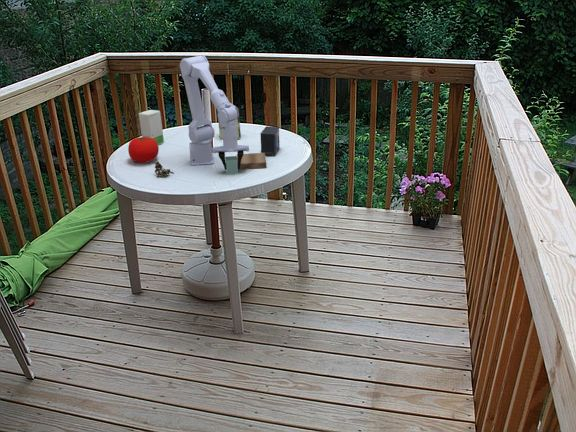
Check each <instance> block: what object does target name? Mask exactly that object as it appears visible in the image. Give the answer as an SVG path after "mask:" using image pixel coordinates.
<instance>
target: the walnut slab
mask: <svg viewBox="0 0 576 432" xmlns="http://www.w3.org/2000/svg"><path fill="white" fill-rule="evenodd" d="M236 156H237V165H238V154H237V153H236ZM266 159H267V157H266V156H265V153H261V152H255V153H244V154H243V157H242V160H241V163H240V169H238V171H239V170H241V171H242V170H255V169H267V160H266Z"/></svg>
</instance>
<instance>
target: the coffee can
mask: <svg viewBox="0 0 576 432" xmlns="http://www.w3.org/2000/svg"><path fill="white" fill-rule="evenodd" d="M237 110H238V113H239V114H240V108H239V107H237ZM216 112H217V113H218V111H217V110H216ZM217 121H218V132H219V140H220V139H221V140H220V141H222V140H223V135H222V126H221V125H220V121H219V119H218V118H217ZM236 129H237V141H239V140H240V139H241V138H242V136H241V135H242V133H241V121H240V115H239V116H238V118H237V119H236Z"/></svg>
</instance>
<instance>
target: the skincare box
mask: <svg viewBox="0 0 576 432" xmlns="http://www.w3.org/2000/svg"><path fill="white" fill-rule="evenodd" d="M161 115H162V114H161V111H160V110H156V109H155V110H154V109H148V110H145V111H142V112H139V113H138V119H139V125H140V133H141V137H149V138H153V139H155V140H156V142H157V144H158V146H160V145H162V144H164V143H165V141H164V140H165V139H164V131H163V125H162V116H161Z"/></svg>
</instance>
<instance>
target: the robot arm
mask: <svg viewBox="0 0 576 432" xmlns="http://www.w3.org/2000/svg"><path fill="white" fill-rule="evenodd" d="M179 68H180V72H181V77H182V80H183V81H184V86H185V91H186V95H187V100H188V105H189V109H190V114H191V117H192V121H191V122H190V123H189V125H188V127H187V128H188V137H189V140H190V141H191V142H189V146H188V147H189V159H190V165H191V166H201V165H214V164H215V163H214V162H215V157H214V156H213V154H216V153H217V155H218V157H219V159H220V161H221V164H222V165H223V168H224V171H226V158H225V157H226V153H233V152H234V153H235V152H236V155H237V154H238V169H240V163H241V160H242V157H243V154H245V153H244V152H250V148H249V146H250V145H245V144H238V140H237V129H236V119H237V118H238V116H239V117H240V112H239V113H238V110H237V108H238V107H237V106H236V105H234V104H233V103H232V102H230V101H229V99H228V97H227V96H226V94H225V92H224V91H223V90H222V89H219V88H218V85H217V84H216V82H215V80H214V77H213V75H212V74H211V71H210V63H209V61H208V59H207V57H206V56H205V55H204V54H200V55H196V56H192V57H183V58H182V59H181V60H180V63H179ZM199 79H200V80H201V82H202V83H203V85H204V86H205V88H206V89H207V90H208V92H209V93H210V95H209V98H210V100H211V102H212V104H213V106H214V108H216V112H217V111H218V112H217V120H218V119H219V121H220V125H221V126H222V135H223V141H222V144H223V145H222V146H221V145H220V146H214V147H213V146H212V141H213V139H214V137H215V129H214V127H213V125H212V121H211V120H209V119H208V118H206V115H205V109H204V106H203V105H204V104H203V100H202V96H201V91H200V86H199V82H198V80H199Z"/></svg>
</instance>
